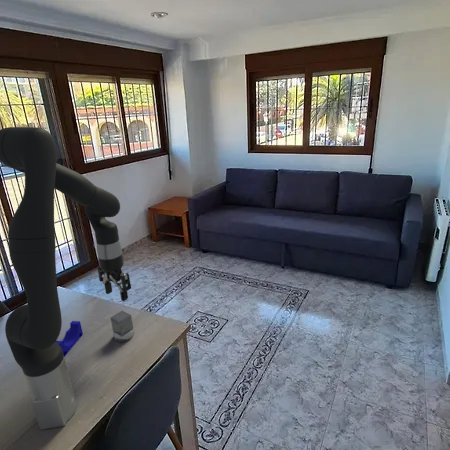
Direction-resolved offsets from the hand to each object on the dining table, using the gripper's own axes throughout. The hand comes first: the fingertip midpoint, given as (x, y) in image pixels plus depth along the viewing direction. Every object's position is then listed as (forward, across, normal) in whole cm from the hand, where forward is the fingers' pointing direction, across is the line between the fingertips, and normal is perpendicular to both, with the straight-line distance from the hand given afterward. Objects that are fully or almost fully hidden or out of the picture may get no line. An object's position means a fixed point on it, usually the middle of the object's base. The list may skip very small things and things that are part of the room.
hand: (116, 296), depth 110 cm
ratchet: (+17, +2, -3) cm, 17 cm away
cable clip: (+17, +13, +14) cm, 26 cm away
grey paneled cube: (+14, 0, 0) cm, 14 cm away
